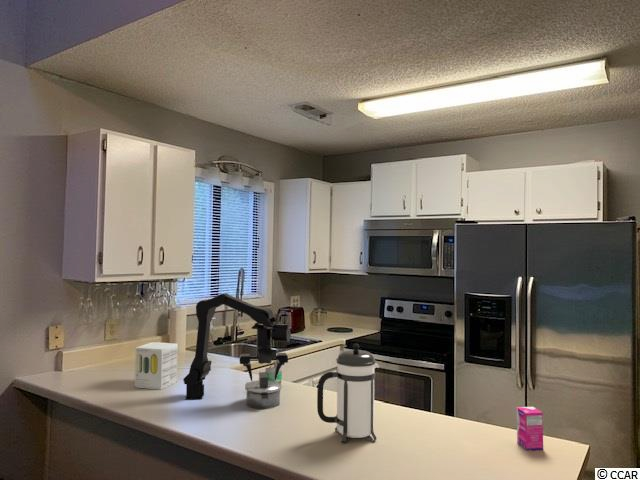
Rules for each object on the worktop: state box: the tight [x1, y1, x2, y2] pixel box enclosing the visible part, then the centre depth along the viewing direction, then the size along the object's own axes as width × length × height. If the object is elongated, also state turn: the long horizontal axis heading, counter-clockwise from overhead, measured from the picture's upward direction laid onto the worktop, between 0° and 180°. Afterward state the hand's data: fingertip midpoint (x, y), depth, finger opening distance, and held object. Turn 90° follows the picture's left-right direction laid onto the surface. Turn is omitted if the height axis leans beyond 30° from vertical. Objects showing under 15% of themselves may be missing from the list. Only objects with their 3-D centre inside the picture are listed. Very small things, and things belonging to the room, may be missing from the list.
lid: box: [244, 371, 282, 393], centre depth 185 cm, size 14×14×5 cm
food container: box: [264, 361, 284, 385], centre depth 206 cm, size 12×6×10 cm, turn 168°
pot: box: [245, 389, 281, 410], centre depth 185 cm, size 13×16×6 cm
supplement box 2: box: [516, 406, 544, 451], centre depth 147 cm, size 6×6×12 cm
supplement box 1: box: [134, 341, 179, 391], centre depth 210 cm, size 13×13×18 cm
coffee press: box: [316, 343, 380, 444], centre depth 153 cm, size 17×16×30 cm
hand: (263, 380), depth 185 cm, fingers open, 9 cm apart
